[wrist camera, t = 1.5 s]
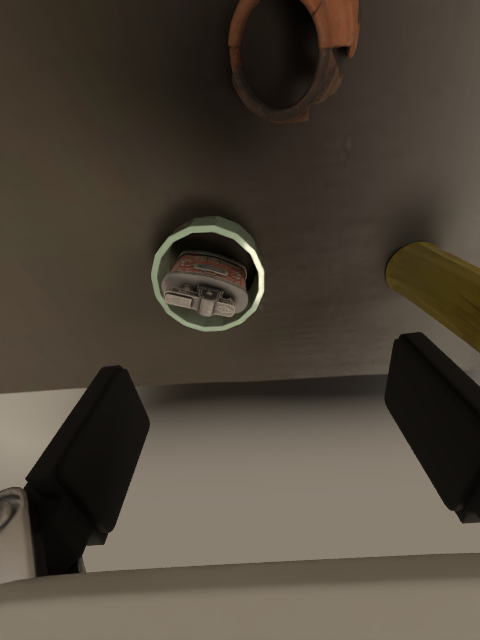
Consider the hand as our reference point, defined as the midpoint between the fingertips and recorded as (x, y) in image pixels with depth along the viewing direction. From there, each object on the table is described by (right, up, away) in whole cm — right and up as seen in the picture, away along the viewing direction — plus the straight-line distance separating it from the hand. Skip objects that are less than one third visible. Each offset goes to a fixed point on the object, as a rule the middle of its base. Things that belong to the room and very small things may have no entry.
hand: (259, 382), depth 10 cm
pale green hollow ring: (-4, +8, +22) cm, 24 cm away
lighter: (-4, +8, +22) cm, 24 cm away
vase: (+19, +8, +22) cm, 30 cm away
